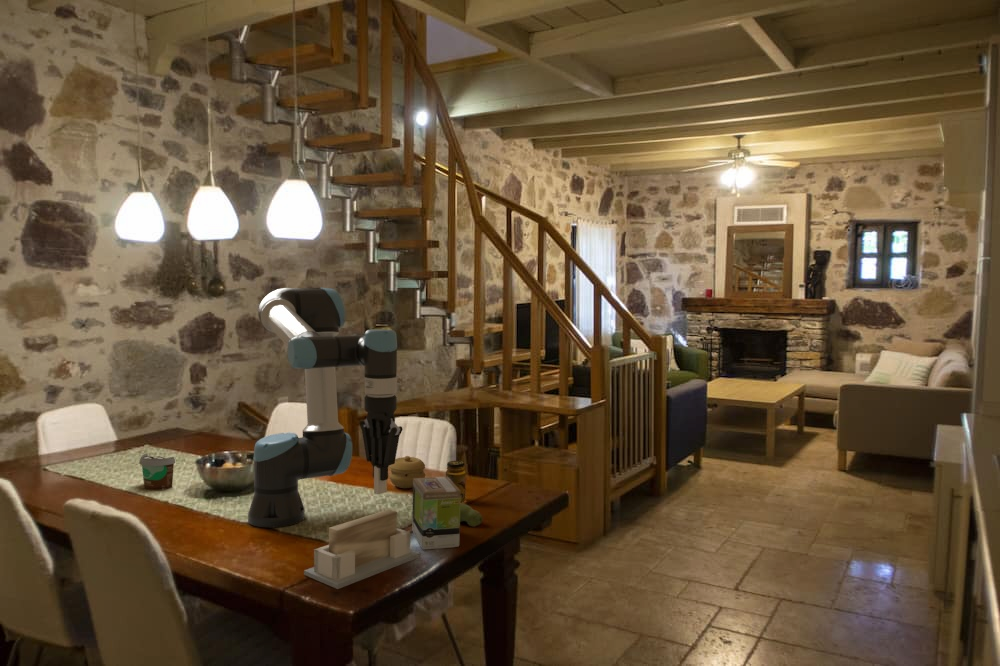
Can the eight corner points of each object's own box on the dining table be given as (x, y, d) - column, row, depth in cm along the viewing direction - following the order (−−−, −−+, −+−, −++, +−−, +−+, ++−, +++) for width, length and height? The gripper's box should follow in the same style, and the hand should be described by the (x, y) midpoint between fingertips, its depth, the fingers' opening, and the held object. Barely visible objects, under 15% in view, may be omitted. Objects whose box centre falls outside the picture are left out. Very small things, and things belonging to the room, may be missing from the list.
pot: (431, 488, 241) (432, 457, 240) (399, 493, 234) (399, 462, 233) (414, 479, 250) (414, 450, 249) (382, 484, 243) (382, 454, 243)
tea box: (461, 547, 188) (461, 489, 187) (421, 551, 185) (422, 492, 184) (448, 528, 202) (448, 474, 201) (411, 531, 199) (411, 476, 198)
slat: (329, 570, 169) (328, 527, 168) (388, 549, 183) (388, 509, 182) (337, 574, 167) (337, 530, 167) (396, 552, 181) (396, 511, 180)
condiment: (470, 502, 226) (471, 463, 225) (446, 506, 221) (446, 467, 220) (458, 496, 232) (458, 458, 231) (434, 500, 227) (434, 461, 226)
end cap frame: (303, 574, 169) (303, 548, 169) (386, 545, 189) (386, 522, 188) (337, 589, 162) (337, 562, 161) (420, 556, 181) (420, 532, 181)
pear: (457, 498, 211) (487, 509, 206) (454, 515, 212) (484, 527, 207) (446, 502, 206) (477, 514, 202) (443, 520, 207) (474, 533, 202)
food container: (130, 488, 236) (130, 457, 235) (146, 483, 241) (146, 452, 240) (160, 492, 231) (159, 461, 230) (175, 487, 237) (175, 456, 236)
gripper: (350, 393, 177) (350, 490, 179) (387, 399, 169) (386, 501, 171) (374, 390, 183) (374, 484, 185) (411, 396, 175) (410, 494, 177)
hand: (380, 492), depth 178 cm, fingers closed
